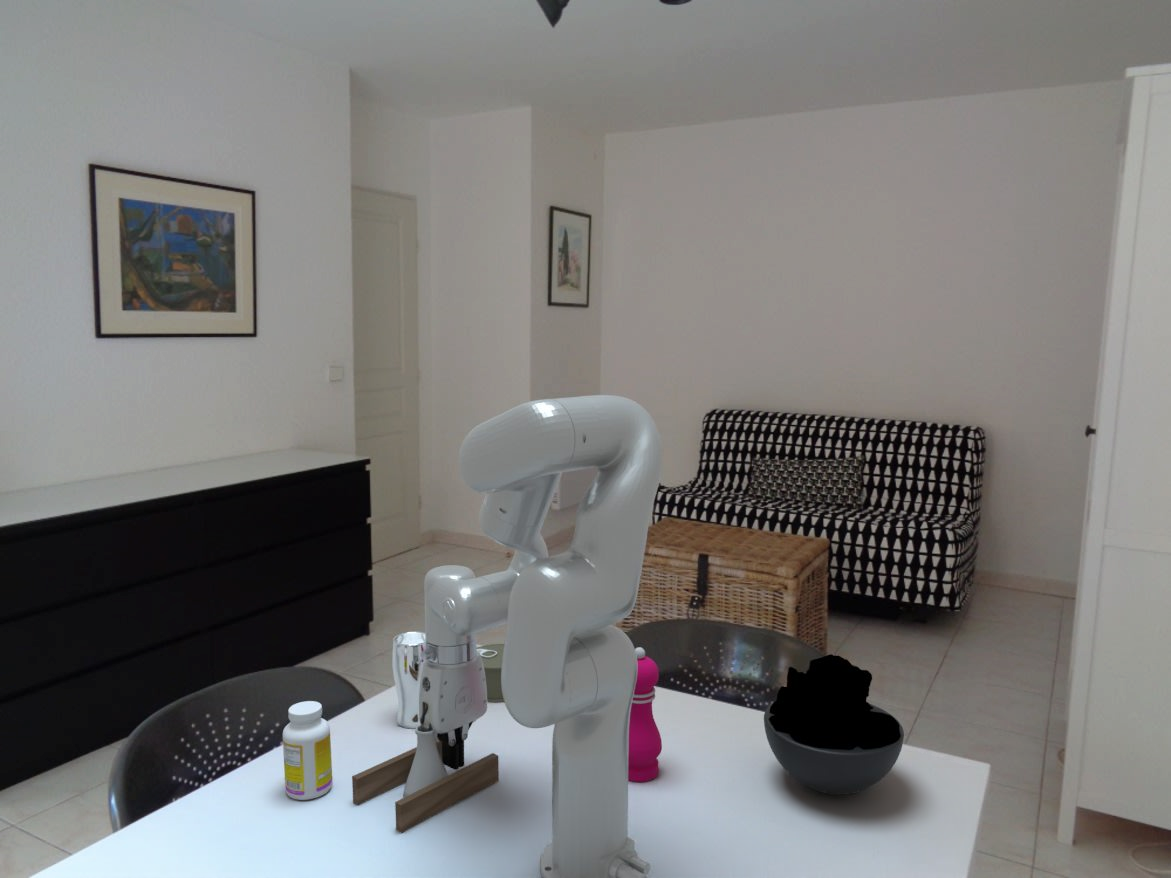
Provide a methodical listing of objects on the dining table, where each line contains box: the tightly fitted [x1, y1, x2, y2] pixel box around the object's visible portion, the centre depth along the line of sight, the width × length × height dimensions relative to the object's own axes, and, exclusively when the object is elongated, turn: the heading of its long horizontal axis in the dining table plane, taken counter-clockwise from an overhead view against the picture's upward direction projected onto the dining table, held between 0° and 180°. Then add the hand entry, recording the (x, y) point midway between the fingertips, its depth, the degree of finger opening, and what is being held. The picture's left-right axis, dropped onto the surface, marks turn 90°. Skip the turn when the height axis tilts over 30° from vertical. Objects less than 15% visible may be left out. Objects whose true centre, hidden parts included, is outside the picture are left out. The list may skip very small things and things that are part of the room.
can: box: [477, 643, 505, 704], centre depth 161 cm, size 12×12×7 cm
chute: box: [351, 739, 500, 833], centre depth 126 cm, size 11×18×4 cm, turn 139°
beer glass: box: [391, 631, 426, 729], centre depth 148 cm, size 7×7×15 cm
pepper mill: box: [628, 646, 663, 783], centre depth 130 cm, size 7×7×20 cm
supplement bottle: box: [282, 700, 333, 801], centre depth 126 cm, size 7×7×13 cm
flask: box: [402, 724, 449, 798], centre depth 125 cm, size 7×7×10 cm
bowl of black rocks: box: [763, 653, 905, 795], centre depth 127 cm, size 20×20×19 cm
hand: (453, 764), depth 130 cm, fingers closed
